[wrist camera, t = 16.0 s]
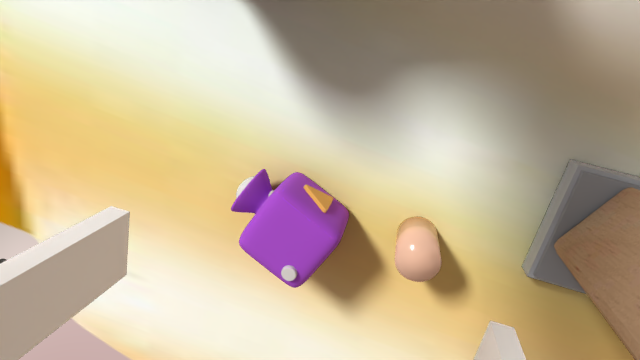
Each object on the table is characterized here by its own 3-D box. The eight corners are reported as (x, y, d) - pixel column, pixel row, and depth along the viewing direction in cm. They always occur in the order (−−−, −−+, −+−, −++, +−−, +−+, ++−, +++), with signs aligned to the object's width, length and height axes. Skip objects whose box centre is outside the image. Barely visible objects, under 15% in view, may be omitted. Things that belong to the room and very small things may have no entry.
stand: (570, 159, 45) (580, 166, 42) (706, 194, 43) (726, 204, 40) (521, 266, 50) (528, 278, 47) (642, 302, 48) (656, 317, 45)
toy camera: (265, 147, 52) (234, 167, 43) (360, 197, 52) (349, 229, 42) (236, 214, 56) (201, 246, 47) (323, 262, 55) (306, 304, 46)
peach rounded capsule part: (403, 211, 51) (402, 235, 44) (442, 223, 50) (447, 248, 44) (392, 246, 53) (389, 273, 46) (430, 257, 52) (433, 287, 45)
